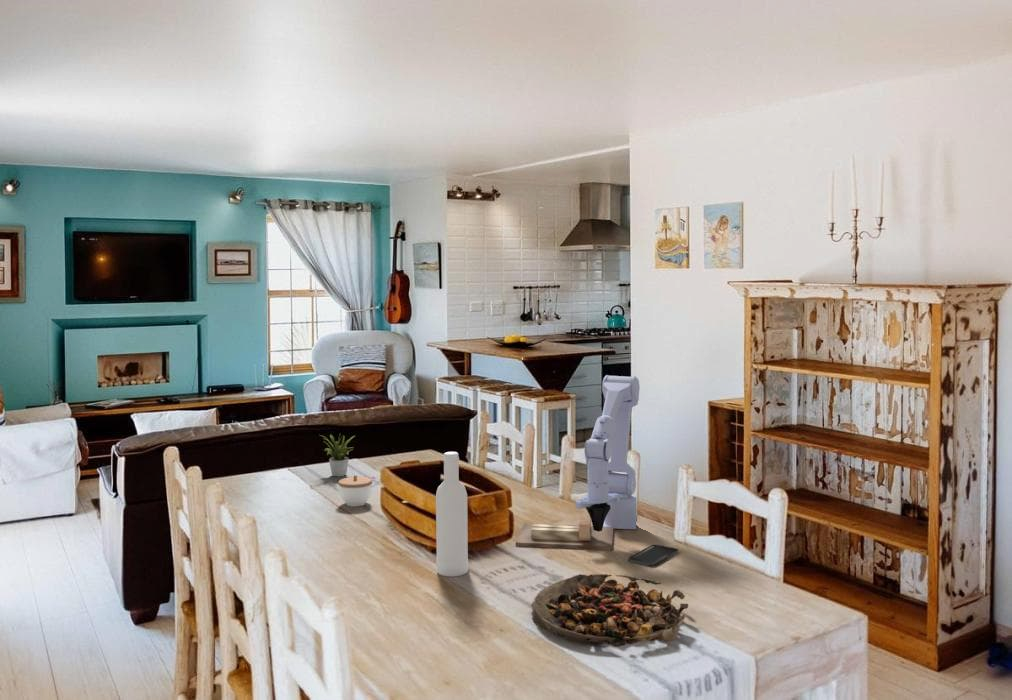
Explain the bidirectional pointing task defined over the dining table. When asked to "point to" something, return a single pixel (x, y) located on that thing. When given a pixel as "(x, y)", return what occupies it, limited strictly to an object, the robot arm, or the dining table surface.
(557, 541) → the tongs base
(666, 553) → the phone
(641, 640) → the food dish
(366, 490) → the lidded jar
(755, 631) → the dining table surface
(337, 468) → the house plant
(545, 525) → the bar
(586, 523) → the brown rectangular block
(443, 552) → the bottle
